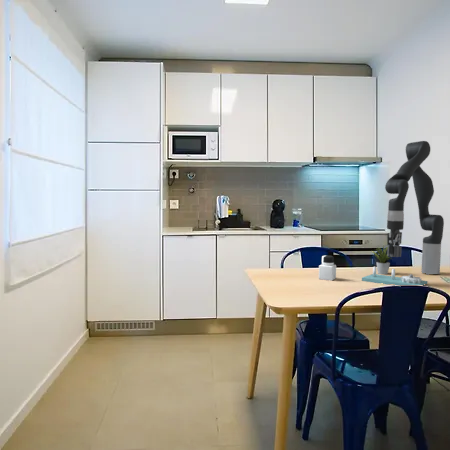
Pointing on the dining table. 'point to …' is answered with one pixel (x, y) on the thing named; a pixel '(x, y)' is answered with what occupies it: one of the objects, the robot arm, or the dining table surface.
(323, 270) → the medicine bottle
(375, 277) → the gear board
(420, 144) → the robot arm
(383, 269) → the house plant
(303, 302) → the dining table surface
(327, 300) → the dining table surface
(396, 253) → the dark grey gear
